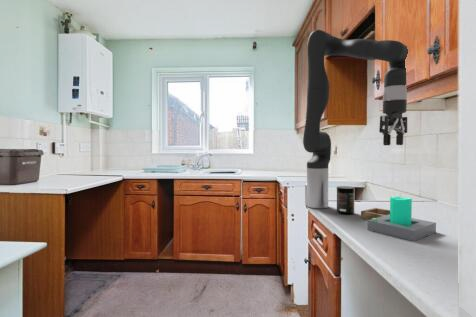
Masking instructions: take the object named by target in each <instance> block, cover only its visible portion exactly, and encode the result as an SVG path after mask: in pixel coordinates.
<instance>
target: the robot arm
mask: <svg viewBox="0 0 476 317" xmlns="http://www.w3.org/2000/svg"><path fill="white" fill-rule="evenodd" d="M307 40H308V41H307V46H306V47H307V50H306V51H307V63H308V64H307V65H308V66H307V67H308V68H307V90H306V113H305V123H304V129H303V138H302V143H303V148H304V150H305V151H306V152H308V153H312V156H311V158H310V159H309V160H307V162H306V183H305V185H304V206H306V207H308V208H311V209H326V208H329V164H330V162H331V155H332V154H331V152H332V139H331V137H330V135H329V133H327V132H325V131H321V120H322V117H323V114H324V112H325V110H326V109H327V107H328V104H329V99H330V81H329V78H328V74H327V71H326V66H325V57H326V56H327V57H328V56H329V57H330V56H343V57H344V56H345V57H351V58H355V59H361V60H367V61H368V60H369V61H376V60H378V61H384V62H387V63H388V68H387V69H388V70H387V71H386V72H385V74H384V78H383V79H384V80H383V92H382V93H383V94H382V114H384V115H380V116H379V117H380V118H379V131H378V132H379V134H382V135H383V141H382V144H383V146H391V140H392V139H391V137H392V136H391V134H392V131H395V133H396V137H395V139H396V140H395V144H396V146H403V145H404V135H405V134H407V133H408V117H407V116H403V114H405V113H406V112H407V108H408V107H407V103H408V100H407V99H408V90H407V80H406V79H407V78H406V76H407V73H406V68H405V59H406V57H407V54H408V49H407V47H408V46H407V45H406V44H404V43H403V42H401V41H398V40H392V39H391V40H390V39H387V40H386V39H385V40H377V39H368V38H367V39H366V38H354V39H344V38H339V37H338V36H337V37H336V36H334V35H332V34H330V33H328V32H327V31H324V30H322V29H315V30H313V31H312V32H311V33H310V35H309V36H308V39H307ZM405 85H406V86H405Z"/></svg>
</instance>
